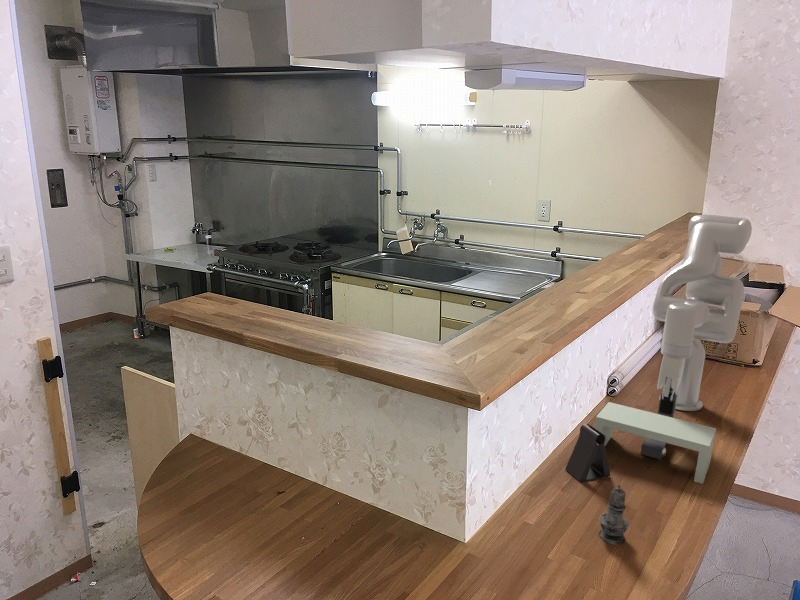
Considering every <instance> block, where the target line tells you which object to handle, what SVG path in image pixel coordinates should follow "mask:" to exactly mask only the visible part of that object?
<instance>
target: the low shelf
mask: <svg viewBox="0 0 800 600" xmlns="http://www.w3.org/2000/svg"><path fill="white" fill-rule="evenodd" d="M594 428H595V429H597V430H598V431H599V432H601V433H602V434H604V435H605V444H604V445H605V447H606V446H607V444H608V443H609V441H610V440H611V439H612V436H613V429H614V430H617V431H620V432H621V431H622V432H625V433H629V434H631V435H632V434H633V435H636V436H639V437H643V438H646V437H647V438H650V439H654V440H658V441H662V442H665V443H666V444H670V445H673V446H677V447H681V448H684V449H688V450H693V451H696V452H698V456H697V462H696V466H695V473H694V479H693V482H695V483H699V484H701V485H703V484H704V482H705V478H706V476H707V473H708V470H709V467H710V466H711V460H712V454H713V448H714V444H715V443H714V442H715V437H716V432H717V428H716V427H711V426H707V425H703V424H699V423H695V422H692V421H689V420H688V421H687V420H683V419H680V418H675V417H674V418H672V417H668V416H664V415H660V414H658V413H655V412H653V411H652V412H651V411H647V410H643V409H639V408H634V407H631V406H626V405H623V404H618V403H614V402H611V401H608V402H607V403H606V404H605V406H604V407H603V408H602V409H601V411H599V413H598V414H597V415H596V417H595V423H594ZM610 438H611V439H610Z"/></svg>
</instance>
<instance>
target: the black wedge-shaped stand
mask: <svg viewBox="0 0 800 600" xmlns="http://www.w3.org/2000/svg"><path fill="white" fill-rule="evenodd" d="M604 444H605V435H604V434H602V433H601V432H599V431H598V430H597V429H595V426H594V427H593V426H592V425H590V424H589V423H586V424H584V423H583V424H582V425H581V426H580V428H579V436H578V439H577V441H576V442H575V445H574V447H573V449H572V451H571V452H572V453H571V454H570V457H569V459H568V462H567V464H566V466H565V469H564V470H565V471H566V472H567V473H569V474H570V475H571V476H572V477H574V478H575V479H576V480H577V481H578V482H580V483H585V482H589V481H595V480H599V479H605V478H604V477H607V478H609V477H608V476H610V477H611V470H610V466H609V460H608V455H607V451H606V446H605V445H604Z"/></svg>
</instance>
